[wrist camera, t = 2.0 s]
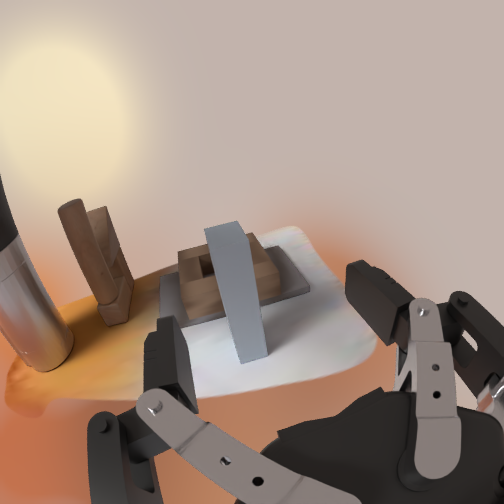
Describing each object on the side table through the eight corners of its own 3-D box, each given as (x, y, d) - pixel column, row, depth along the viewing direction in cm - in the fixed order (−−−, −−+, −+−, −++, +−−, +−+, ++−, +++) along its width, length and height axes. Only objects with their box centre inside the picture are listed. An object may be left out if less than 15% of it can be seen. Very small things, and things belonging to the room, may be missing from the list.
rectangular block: (240, 364, 27) (209, 249, 20) (232, 338, 31) (204, 229, 24) (267, 356, 28) (248, 239, 21) (257, 331, 31) (237, 220, 24)
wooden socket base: (162, 332, 33) (149, 306, 30) (162, 281, 43) (153, 258, 41) (309, 291, 36) (309, 263, 34) (278, 250, 46) (276, 226, 44)
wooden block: (135, 281, 44) (99, 182, 35) (128, 322, 35) (76, 204, 26) (116, 286, 43) (79, 189, 34) (106, 327, 34) (51, 213, 25)
